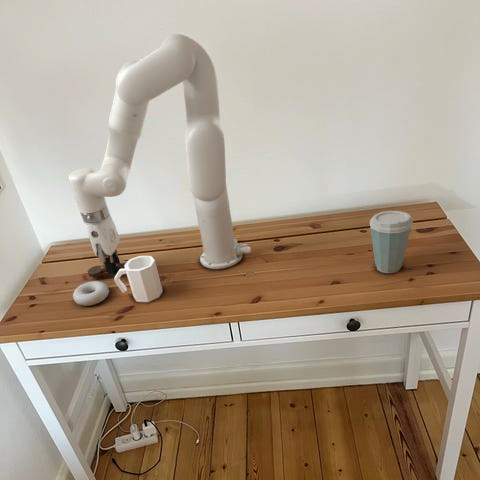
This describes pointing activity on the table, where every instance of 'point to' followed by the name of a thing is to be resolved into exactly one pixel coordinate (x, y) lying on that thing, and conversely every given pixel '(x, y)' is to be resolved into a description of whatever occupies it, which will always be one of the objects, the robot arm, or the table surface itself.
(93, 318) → the table surface
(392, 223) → the disposable coffee cup
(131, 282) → the mug
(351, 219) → the table surface
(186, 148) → the robot arm
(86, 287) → the donut
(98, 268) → the spoon
